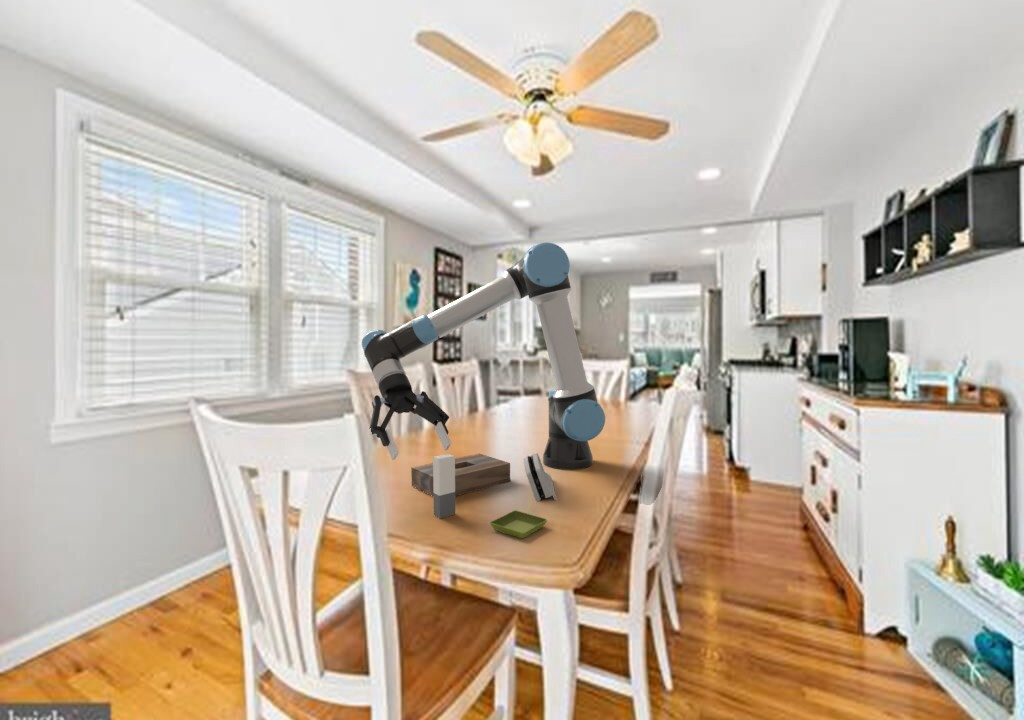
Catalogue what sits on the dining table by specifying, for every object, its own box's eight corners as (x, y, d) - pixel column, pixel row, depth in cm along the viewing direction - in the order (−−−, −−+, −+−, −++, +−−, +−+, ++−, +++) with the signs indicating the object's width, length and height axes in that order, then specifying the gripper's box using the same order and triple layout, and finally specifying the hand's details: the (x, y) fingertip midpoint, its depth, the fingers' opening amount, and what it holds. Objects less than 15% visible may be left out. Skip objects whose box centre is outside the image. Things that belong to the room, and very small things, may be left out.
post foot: (411, 486, 125) (411, 467, 125) (479, 470, 140) (479, 453, 139) (440, 499, 115) (439, 479, 114) (510, 481, 129) (510, 463, 129)
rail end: (433, 515, 105) (432, 456, 104) (449, 510, 108) (448, 453, 107) (439, 518, 103) (439, 459, 103) (455, 514, 106) (454, 455, 105)
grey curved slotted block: (557, 501, 114) (542, 462, 113) (538, 507, 114) (523, 468, 113) (551, 479, 130) (539, 445, 130) (535, 485, 130) (522, 451, 130)
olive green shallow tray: (548, 529, 98) (548, 519, 98) (523, 543, 91) (523, 533, 91) (515, 519, 104) (514, 509, 103) (488, 532, 97) (488, 522, 97)
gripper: (430, 387, 131) (461, 452, 120) (339, 395, 115) (366, 470, 104) (440, 369, 127) (473, 434, 116) (347, 374, 111) (376, 450, 100)
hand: (422, 451), depth 110 cm, fingers open, 13 cm apart
